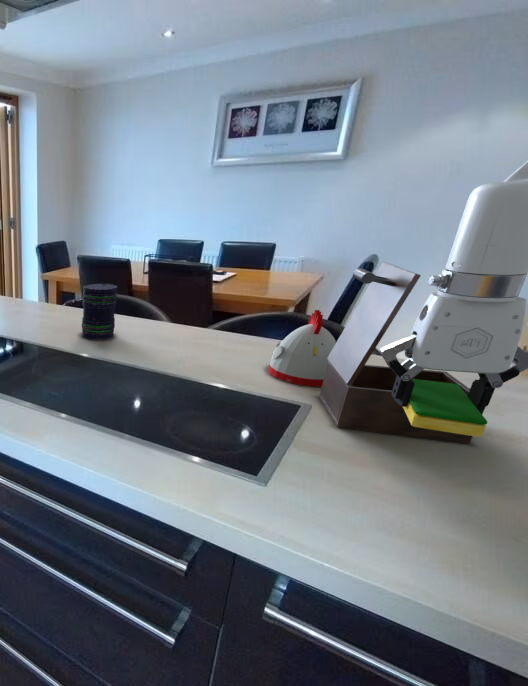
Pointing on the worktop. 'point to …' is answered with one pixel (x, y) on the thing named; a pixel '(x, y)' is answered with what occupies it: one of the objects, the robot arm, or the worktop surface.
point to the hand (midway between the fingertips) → (435, 405)
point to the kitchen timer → (303, 354)
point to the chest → (379, 403)
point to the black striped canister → (98, 311)
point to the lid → (371, 318)
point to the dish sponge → (443, 409)
